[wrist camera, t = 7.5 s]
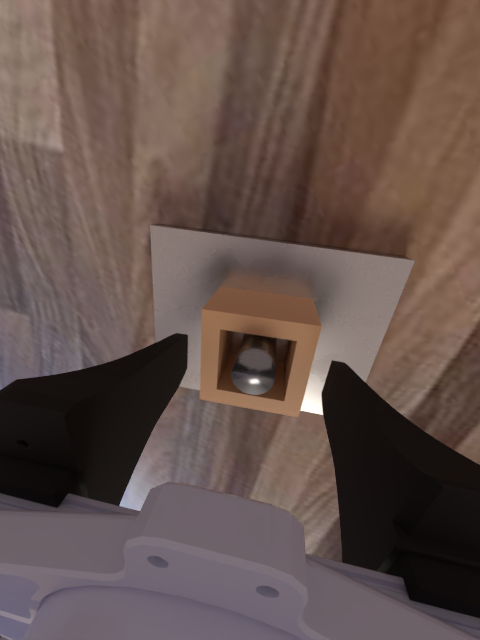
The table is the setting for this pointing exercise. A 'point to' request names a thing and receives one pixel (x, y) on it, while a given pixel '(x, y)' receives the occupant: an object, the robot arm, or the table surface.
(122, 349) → the table surface
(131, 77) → the table surface
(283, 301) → the ring
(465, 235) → the table surface
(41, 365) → the table surface
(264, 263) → the plate
